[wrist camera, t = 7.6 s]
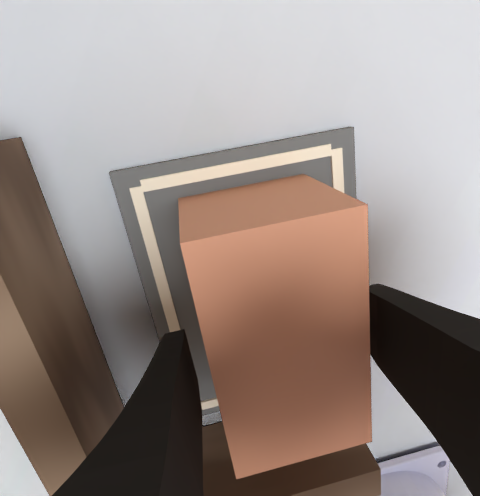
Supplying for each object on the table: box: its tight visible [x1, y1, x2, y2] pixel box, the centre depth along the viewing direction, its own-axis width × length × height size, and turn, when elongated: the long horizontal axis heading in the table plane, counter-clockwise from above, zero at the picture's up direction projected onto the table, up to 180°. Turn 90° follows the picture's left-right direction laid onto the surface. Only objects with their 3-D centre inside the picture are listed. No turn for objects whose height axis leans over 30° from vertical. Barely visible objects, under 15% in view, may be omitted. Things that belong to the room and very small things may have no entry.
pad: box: [109, 127, 356, 415], centre depth 14 cm, size 11×8×1 cm
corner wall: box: [0, 137, 381, 496], centre depth 12 cm, size 15×11×4 cm
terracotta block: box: [178, 174, 372, 479], centre depth 12 cm, size 4×8×4 cm, turn 9°
